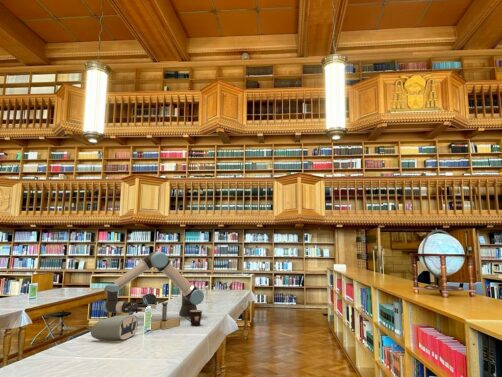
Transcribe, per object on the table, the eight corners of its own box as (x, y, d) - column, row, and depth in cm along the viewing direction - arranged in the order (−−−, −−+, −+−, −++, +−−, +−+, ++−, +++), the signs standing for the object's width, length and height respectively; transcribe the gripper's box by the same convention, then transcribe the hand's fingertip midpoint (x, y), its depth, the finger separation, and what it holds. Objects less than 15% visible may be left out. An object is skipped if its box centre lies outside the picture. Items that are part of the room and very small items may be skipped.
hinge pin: (164, 327, 260) (165, 301, 263) (167, 328, 258) (168, 302, 260) (159, 328, 258) (160, 302, 260) (162, 329, 255) (164, 302, 258)
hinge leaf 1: (165, 326, 262) (165, 319, 263) (170, 327, 258) (170, 320, 259) (144, 330, 250) (144, 322, 251) (149, 331, 246) (149, 324, 247)
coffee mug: (202, 324, 272) (203, 309, 274) (200, 326, 264) (200, 311, 266) (187, 323, 274) (187, 309, 275) (183, 326, 265) (184, 311, 267)
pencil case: (119, 343, 217) (119, 319, 219) (89, 342, 221) (90, 319, 223) (137, 334, 238) (138, 313, 240) (110, 334, 242) (111, 313, 244)
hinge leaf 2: (177, 324, 269) (177, 317, 270) (182, 326, 265) (182, 318, 266) (157, 328, 258) (157, 320, 258) (162, 329, 253) (162, 321, 254)
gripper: (133, 309, 278) (159, 310, 273) (113, 315, 254) (142, 317, 249) (133, 299, 279) (159, 300, 274) (114, 304, 255) (142, 305, 250)
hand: (151, 308), depth 262 cm, fingers open, 13 cm apart
